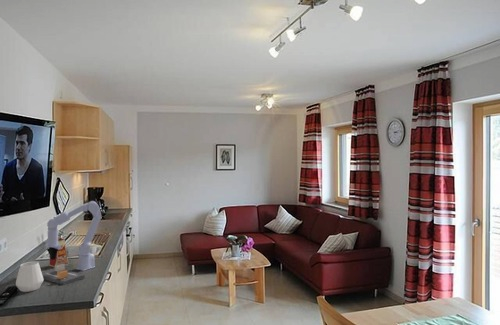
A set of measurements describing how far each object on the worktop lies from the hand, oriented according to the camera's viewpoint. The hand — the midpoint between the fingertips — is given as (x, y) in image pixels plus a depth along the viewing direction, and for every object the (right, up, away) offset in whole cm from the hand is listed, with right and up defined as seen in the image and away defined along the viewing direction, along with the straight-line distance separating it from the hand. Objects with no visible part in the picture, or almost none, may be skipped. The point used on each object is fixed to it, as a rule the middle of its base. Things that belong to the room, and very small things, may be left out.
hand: (53, 259), depth 229 cm
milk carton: (-5, -8, +16) cm, 18 cm away
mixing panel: (+10, -9, -10) cm, 17 cm away
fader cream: (+6, -6, -3) cm, 9 cm away
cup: (+2, -9, -28) cm, 29 cm away
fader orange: (+15, -6, -17) cm, 23 cm away
